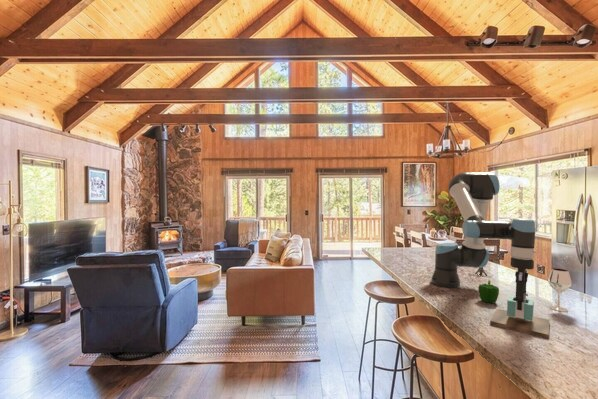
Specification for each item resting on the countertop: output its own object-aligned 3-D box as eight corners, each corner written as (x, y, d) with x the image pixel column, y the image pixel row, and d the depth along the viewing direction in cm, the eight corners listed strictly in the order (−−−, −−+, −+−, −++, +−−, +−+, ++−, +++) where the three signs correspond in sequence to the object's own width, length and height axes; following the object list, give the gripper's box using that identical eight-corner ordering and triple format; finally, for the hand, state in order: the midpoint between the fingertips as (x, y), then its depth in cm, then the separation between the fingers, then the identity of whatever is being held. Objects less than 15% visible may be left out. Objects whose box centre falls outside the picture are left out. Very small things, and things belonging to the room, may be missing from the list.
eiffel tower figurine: (467, 275, 201) (468, 255, 201) (467, 272, 210) (467, 252, 210) (495, 279, 194) (495, 257, 194) (493, 275, 204) (493, 255, 203)
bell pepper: (493, 305, 144) (493, 284, 144) (475, 300, 151) (475, 280, 151) (502, 302, 149) (502, 282, 148) (484, 297, 156) (484, 278, 155)
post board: (490, 324, 123) (491, 291, 123) (496, 311, 137) (497, 282, 136) (548, 338, 111) (549, 302, 111) (549, 323, 125) (550, 291, 125)
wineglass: (565, 313, 136) (566, 272, 136) (543, 307, 144) (544, 268, 143) (574, 310, 140) (575, 271, 140) (552, 304, 147) (553, 267, 147)
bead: (506, 315, 123) (507, 300, 123) (509, 309, 130) (509, 295, 130) (532, 320, 118) (532, 305, 118) (533, 315, 125) (533, 300, 124)
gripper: (532, 263, 113) (530, 325, 114) (535, 255, 129) (533, 309, 130) (507, 260, 118) (505, 319, 118) (513, 253, 134) (511, 305, 134)
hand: (520, 314), depth 124 cm, fingers closed on bead, 8 cm apart
